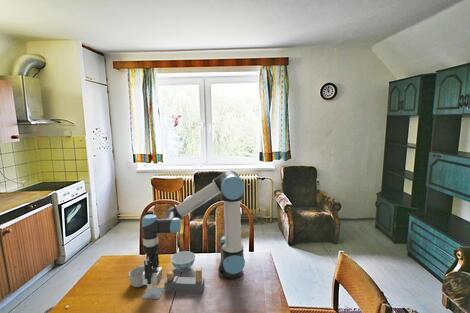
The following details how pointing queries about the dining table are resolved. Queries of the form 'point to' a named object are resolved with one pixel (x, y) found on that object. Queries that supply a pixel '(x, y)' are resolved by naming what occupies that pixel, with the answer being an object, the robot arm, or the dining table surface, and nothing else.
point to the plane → (185, 282)
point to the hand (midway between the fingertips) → (152, 284)
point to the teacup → (136, 276)
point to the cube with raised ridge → (154, 276)
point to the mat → (153, 293)
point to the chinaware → (183, 260)
